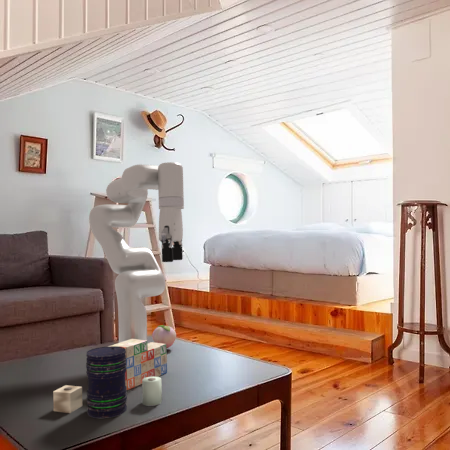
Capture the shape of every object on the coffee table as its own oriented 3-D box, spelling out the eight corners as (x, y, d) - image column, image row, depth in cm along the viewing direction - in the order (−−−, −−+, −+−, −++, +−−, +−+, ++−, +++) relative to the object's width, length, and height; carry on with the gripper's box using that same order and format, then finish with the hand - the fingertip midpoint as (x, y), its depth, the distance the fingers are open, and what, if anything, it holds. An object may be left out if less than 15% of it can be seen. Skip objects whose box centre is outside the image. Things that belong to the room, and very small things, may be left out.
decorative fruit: (181, 349, 177) (180, 322, 177) (164, 353, 171) (163, 326, 171) (165, 345, 183) (165, 320, 183) (148, 349, 177) (148, 323, 177)
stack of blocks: (152, 370, 151) (151, 332, 151) (167, 373, 148) (166, 334, 148) (103, 390, 133) (102, 347, 133) (119, 394, 129) (118, 349, 130)
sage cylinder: (138, 403, 121) (138, 380, 121) (151, 397, 126) (151, 375, 126) (152, 407, 119) (152, 383, 119) (165, 401, 123) (165, 377, 123)
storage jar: (112, 420, 111) (111, 357, 111) (78, 415, 114) (77, 354, 114) (134, 405, 120) (133, 347, 120) (102, 401, 123) (101, 345, 124)
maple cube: (53, 411, 117) (53, 391, 118) (66, 404, 122) (65, 384, 122) (70, 413, 116) (70, 392, 116) (82, 406, 121) (82, 386, 121)
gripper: (168, 206, 149) (169, 259, 149) (149, 202, 132) (150, 263, 132) (190, 205, 148) (192, 259, 147) (174, 201, 131) (176, 262, 130)
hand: (172, 260), depth 140 cm, fingers open, 9 cm apart
